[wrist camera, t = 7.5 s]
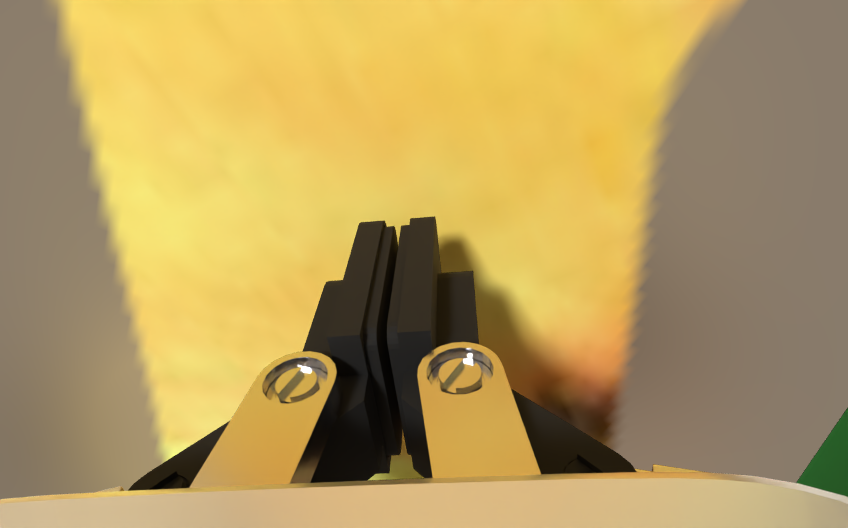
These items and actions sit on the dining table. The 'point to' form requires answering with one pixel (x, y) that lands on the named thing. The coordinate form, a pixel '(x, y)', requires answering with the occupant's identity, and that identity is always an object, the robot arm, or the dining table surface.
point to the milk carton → (830, 462)
